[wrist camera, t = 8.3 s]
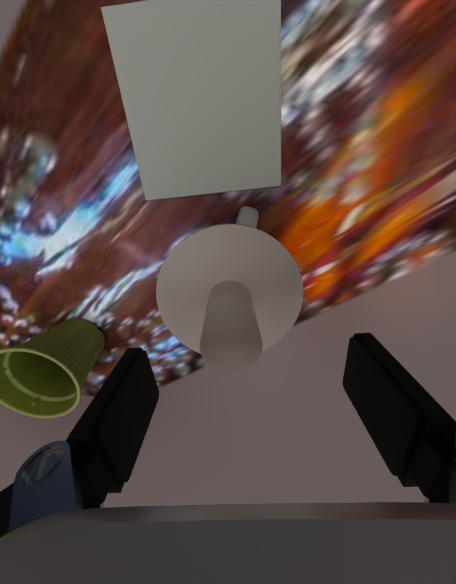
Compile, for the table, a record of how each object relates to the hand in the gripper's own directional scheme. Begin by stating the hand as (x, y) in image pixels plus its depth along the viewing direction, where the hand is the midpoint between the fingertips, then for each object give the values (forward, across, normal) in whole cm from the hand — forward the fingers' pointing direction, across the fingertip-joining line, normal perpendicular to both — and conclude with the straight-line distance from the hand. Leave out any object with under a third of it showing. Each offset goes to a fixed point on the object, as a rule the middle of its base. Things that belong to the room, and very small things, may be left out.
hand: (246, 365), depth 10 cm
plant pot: (+16, +22, +9) cm, 29 cm away
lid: (+9, +1, +1) cm, 9 cm away
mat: (+17, +2, -14) cm, 23 cm away
